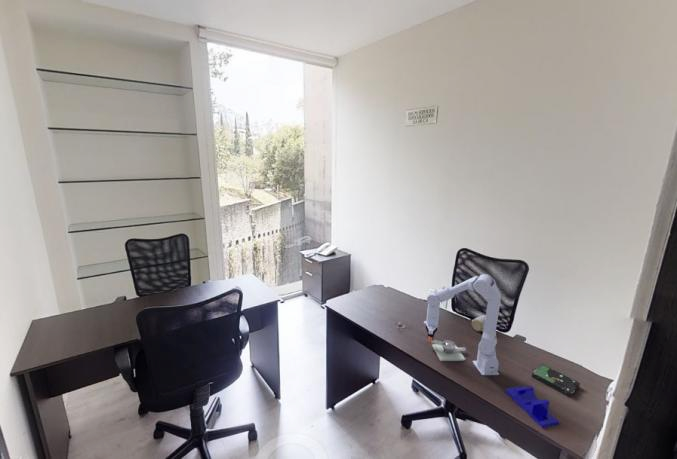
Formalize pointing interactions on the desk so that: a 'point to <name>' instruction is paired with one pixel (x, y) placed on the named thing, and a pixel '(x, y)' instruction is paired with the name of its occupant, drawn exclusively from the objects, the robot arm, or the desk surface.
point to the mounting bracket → (532, 405)
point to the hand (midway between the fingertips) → (430, 339)
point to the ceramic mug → (479, 323)
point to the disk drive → (556, 380)
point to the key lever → (443, 343)
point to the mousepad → (401, 327)
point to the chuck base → (447, 356)
